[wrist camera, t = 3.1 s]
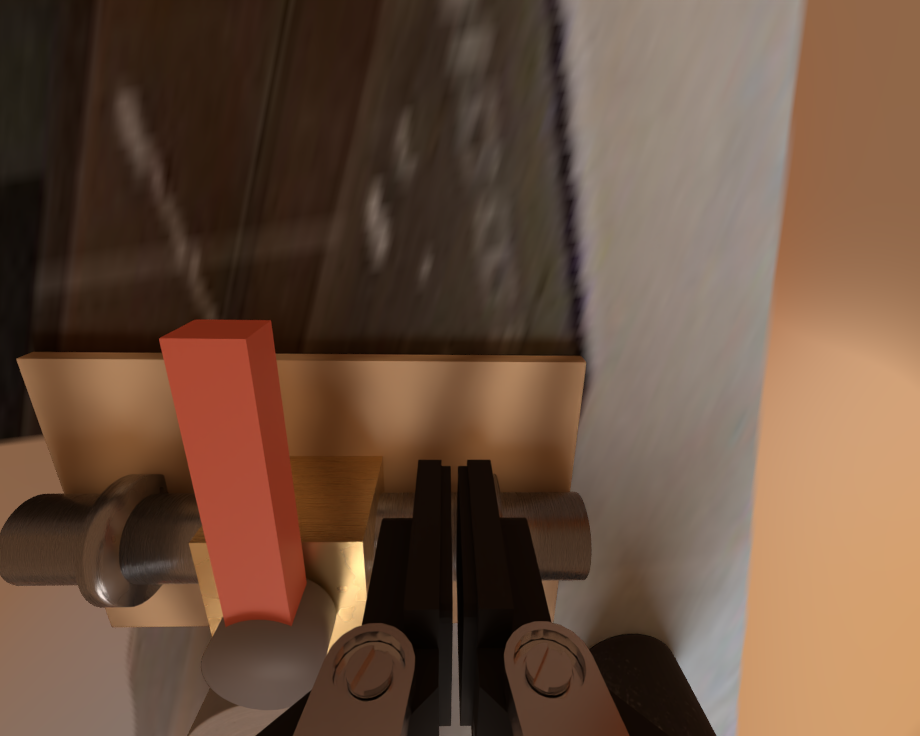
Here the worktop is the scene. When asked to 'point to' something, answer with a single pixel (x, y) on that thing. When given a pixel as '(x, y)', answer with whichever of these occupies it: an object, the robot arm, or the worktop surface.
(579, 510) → the valve
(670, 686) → the travel mug
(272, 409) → the lever
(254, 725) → the tape roll
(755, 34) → the worktop surface
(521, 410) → the mount board
